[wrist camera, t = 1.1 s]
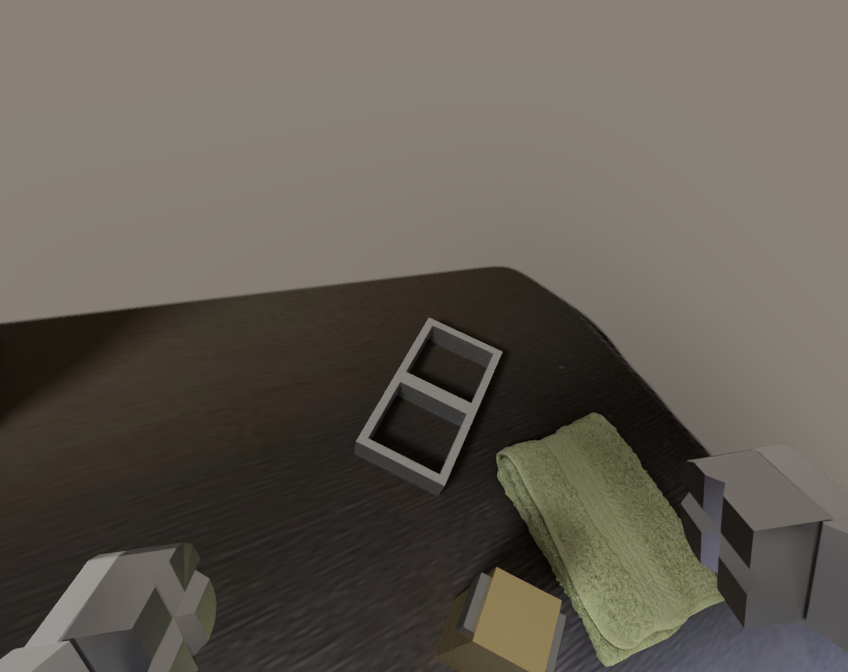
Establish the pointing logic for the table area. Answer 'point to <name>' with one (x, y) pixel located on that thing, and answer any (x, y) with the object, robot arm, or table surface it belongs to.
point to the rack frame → (429, 405)
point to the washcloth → (607, 536)
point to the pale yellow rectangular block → (501, 627)
